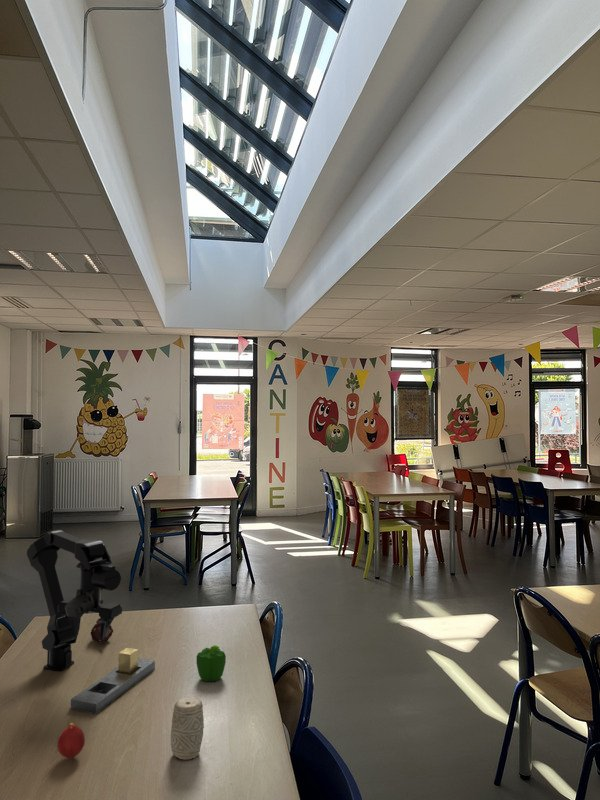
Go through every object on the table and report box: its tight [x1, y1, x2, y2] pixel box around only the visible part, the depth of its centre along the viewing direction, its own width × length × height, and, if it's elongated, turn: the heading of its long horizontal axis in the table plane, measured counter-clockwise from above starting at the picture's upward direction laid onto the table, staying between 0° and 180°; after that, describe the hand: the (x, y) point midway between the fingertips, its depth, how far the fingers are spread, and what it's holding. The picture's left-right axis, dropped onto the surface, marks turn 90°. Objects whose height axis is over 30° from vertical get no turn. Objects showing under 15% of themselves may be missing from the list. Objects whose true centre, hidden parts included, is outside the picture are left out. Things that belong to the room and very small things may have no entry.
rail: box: [70, 657, 156, 715], centre depth 163 cm, size 8×28×2 cm, turn 162°
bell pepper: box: [196, 645, 227, 682], centre depth 169 cm, size 8×8×10 cm
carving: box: [170, 696, 205, 761], centre depth 131 cm, size 6×8×12 cm
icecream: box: [90, 619, 114, 644], centre depth 196 cm, size 7×7×15 cm
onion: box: [56, 722, 86, 760], centre depth 129 cm, size 6×6×8 cm
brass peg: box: [117, 647, 139, 675], centre depth 169 cm, size 4×4×8 cm
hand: (89, 637), depth 168 cm, fingers open, 9 cm apart
